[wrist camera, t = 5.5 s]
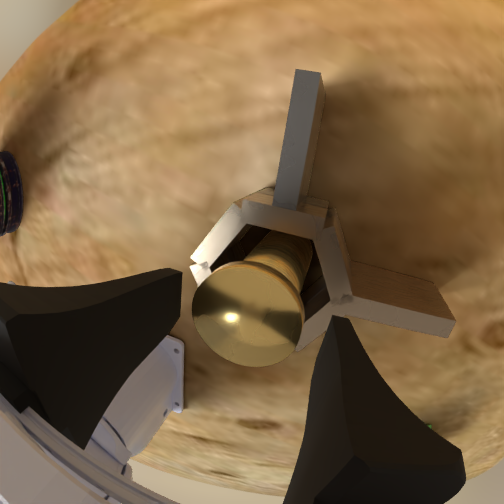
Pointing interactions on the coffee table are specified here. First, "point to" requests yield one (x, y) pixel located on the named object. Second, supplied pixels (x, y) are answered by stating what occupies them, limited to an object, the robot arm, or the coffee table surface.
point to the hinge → (320, 238)
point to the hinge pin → (256, 302)
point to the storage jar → (10, 194)
